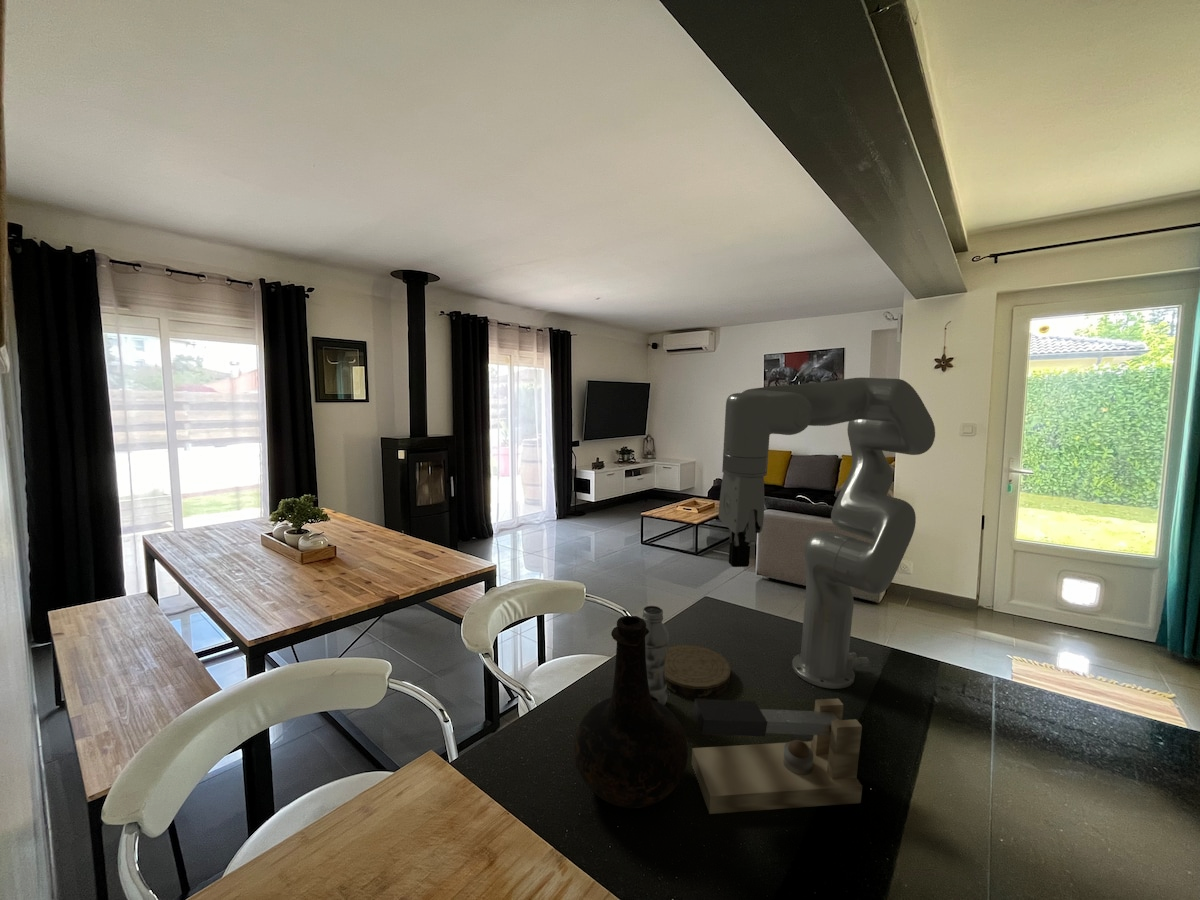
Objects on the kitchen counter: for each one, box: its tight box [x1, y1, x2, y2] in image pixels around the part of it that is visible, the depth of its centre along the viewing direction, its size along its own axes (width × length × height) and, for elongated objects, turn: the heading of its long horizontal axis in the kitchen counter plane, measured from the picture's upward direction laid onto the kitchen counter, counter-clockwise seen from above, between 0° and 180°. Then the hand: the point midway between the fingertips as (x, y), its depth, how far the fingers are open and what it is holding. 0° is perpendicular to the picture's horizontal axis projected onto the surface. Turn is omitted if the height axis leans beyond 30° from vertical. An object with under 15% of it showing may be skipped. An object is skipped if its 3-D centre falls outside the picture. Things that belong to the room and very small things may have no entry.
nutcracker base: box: [691, 698, 863, 815], centre depth 85 cm, size 24×10×12 cm, turn 96°
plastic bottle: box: [642, 605, 670, 706], centre depth 103 cm, size 6×7×20 cm
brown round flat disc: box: [665, 644, 731, 700], centre depth 114 cm, size 16×16×3 cm
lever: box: [692, 698, 839, 740], centre depth 84 cm, size 23×5×3 cm, turn 96°
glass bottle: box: [573, 615, 689, 809], centre depth 83 cm, size 18×18×28 cm
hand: (738, 564), depth 95 cm, fingers closed
